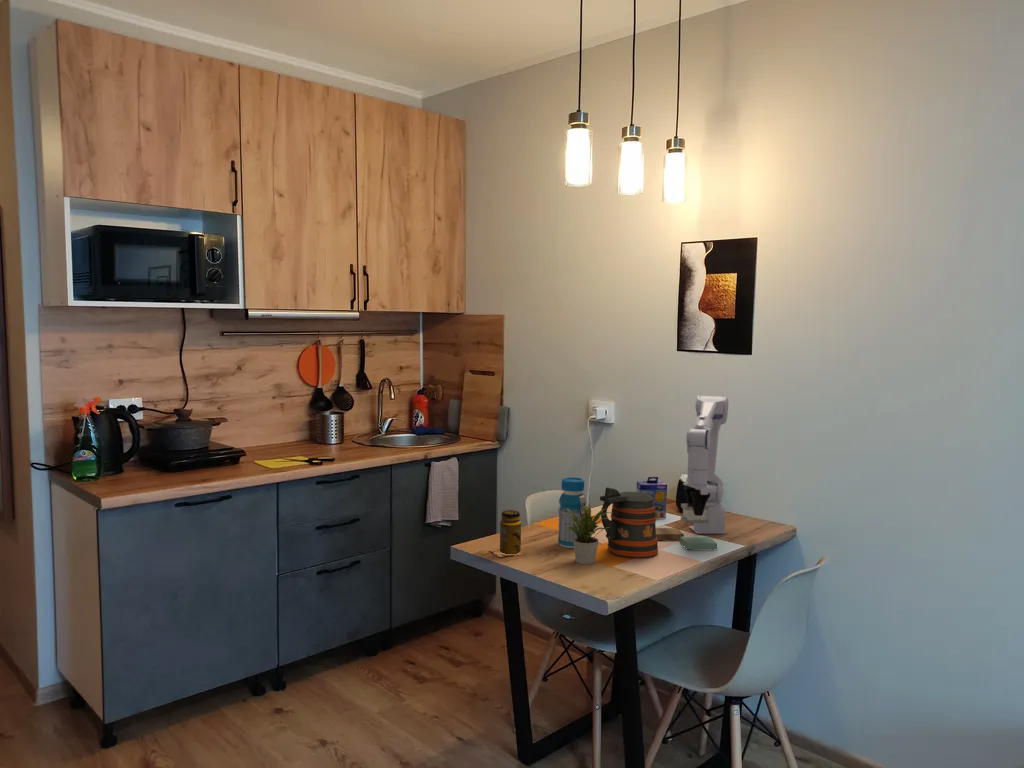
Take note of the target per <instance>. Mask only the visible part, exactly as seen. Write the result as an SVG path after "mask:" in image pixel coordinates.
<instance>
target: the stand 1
mask: <svg viewBox="0 0 1024 768" xmlns="http://www.w3.org/2000/svg"><path fill="white" fill-rule="evenodd" d="M656 536H657V540H674V541H680V537H685V534H684V533H683V532H682V531H681V530H680V529H679V528H678V527H656Z"/></svg>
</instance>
